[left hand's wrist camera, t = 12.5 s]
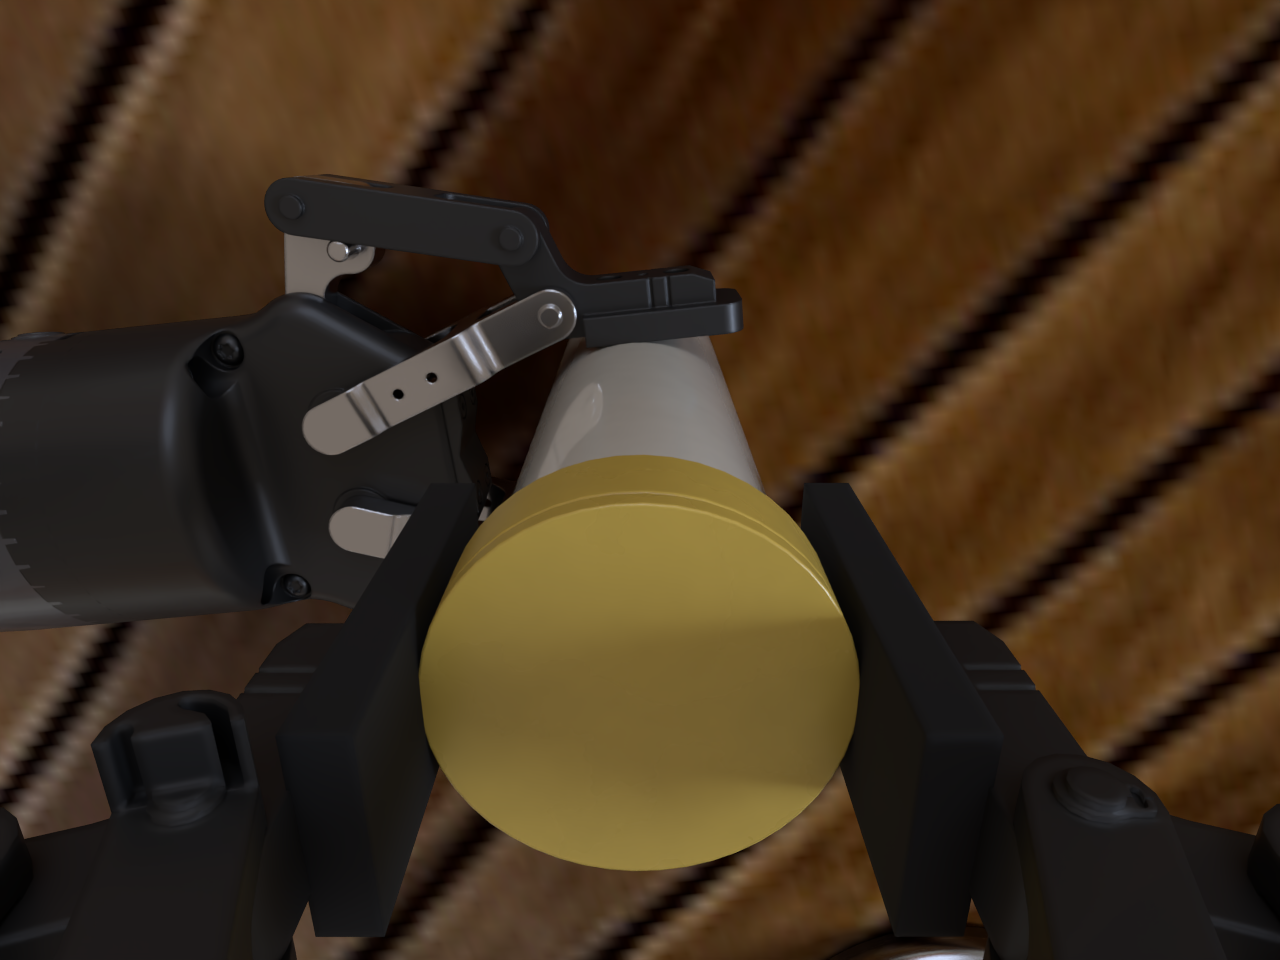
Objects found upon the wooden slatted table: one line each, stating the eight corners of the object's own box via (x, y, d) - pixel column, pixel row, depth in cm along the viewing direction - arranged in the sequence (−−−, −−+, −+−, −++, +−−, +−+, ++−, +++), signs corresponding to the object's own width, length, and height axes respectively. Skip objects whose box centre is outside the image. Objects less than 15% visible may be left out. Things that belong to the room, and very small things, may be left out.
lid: (911, 576, 12) (953, 643, 10) (697, 837, 14) (704, 927, 12) (565, 375, 11) (553, 414, 9) (381, 687, 13) (345, 765, 11)
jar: (659, 464, 28) (684, 866, 12) (536, 387, 27) (394, 719, 11) (744, 346, 27) (894, 634, 11) (617, 260, 26) (583, 441, 10)
